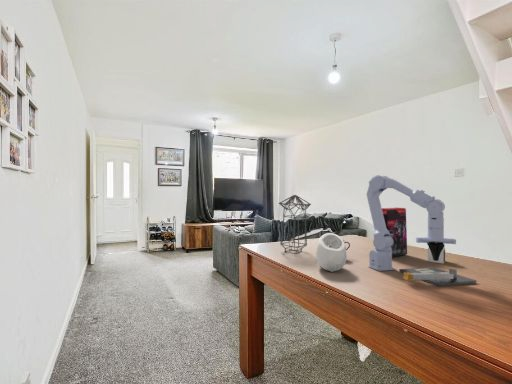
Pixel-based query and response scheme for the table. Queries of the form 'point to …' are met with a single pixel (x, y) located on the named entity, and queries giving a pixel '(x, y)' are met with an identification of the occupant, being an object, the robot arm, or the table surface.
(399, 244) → the graphics card box
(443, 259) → the medicine bottle
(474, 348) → the table surface
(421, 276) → the cable arm
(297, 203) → the geometric lantern
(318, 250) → the skull planter
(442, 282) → the panel
